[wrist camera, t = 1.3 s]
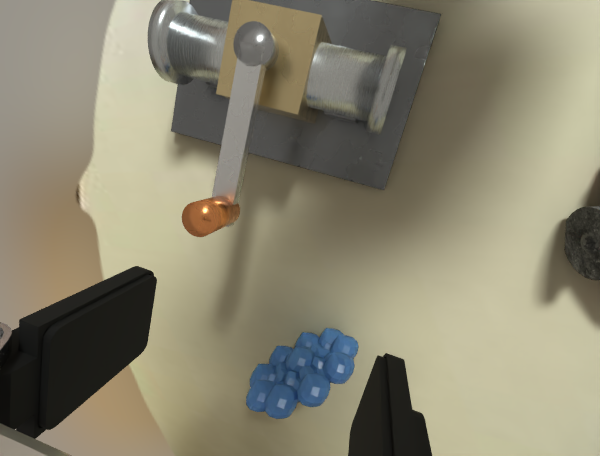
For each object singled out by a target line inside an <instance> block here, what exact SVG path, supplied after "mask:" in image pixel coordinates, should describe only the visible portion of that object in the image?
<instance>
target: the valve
mask: <svg viewBox="0 0 600 456" xmlns="http://www.w3.org/2000/svg"><path fill="white" fill-rule="evenodd" d="M565 253H566V255H567V257H568V260H569V262H570V263H571V264H572V266H573V267H574V268H575V269H576V271H577V272H578V273H580V274H581V275H583V276H584V277H586V278H589V279H591V280H600V207H599V206H594V207H583V208H580V209H577V210H576V211H574V212H573V213H572V214H571V215H570V216H569V218H568V219H567V221H566V233H565Z"/></svg>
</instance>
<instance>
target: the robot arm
mask: <svg viewBox="0 0 600 456" xmlns="http://www.w3.org/2000/svg"><path fill="white" fill-rule="evenodd" d="M156 283H157V279H156V277H154V274H153V272H152V271H150V270H147V269H144V268H141V267H138V266H135V267H132V268H130V269H128V270H126V271H124V272H121V273H119V274H117V275H115V276H113V277H111V278H108V279H106V280H104V281H102V282H100V283H98V284H95V285H94V286H91V287H89V288H87V289H85V290H82V291H81V292H78V293H76V294H74V295H72V296H70V297H67V298H65V299H63V300H61V301H59V302H56V303H54V304H52V305H50V306H48V307H46V308H44V309H41V310H39V311H37V312H35V313H33V314H31V315H28V316H26V317H24V318H22V319H20V320H19V328H17V329H14V330H12V331H11V328H10V327H9V326H8V325H7V324H4V323H1V322H0V456H71V455H69V454H66V453H65V452H62V451H60V450H58V449H56V448H53V447H51V446H49V445H47V444H44V443H42V442H40V441H38V440H36V439H35V438H37V437H38V436H39V435H40V434H41V433H43V432H44V431H45V430H46V429H47V430H50V429H52V428H54V427H56V426H57V425H58V424H59V423H60V422H62V421H63V420H64V419H65V418H66V417H67V416H69V415H70V414H71V413H72V412H73V411H74V410H76V409H77V408H78V407H79V406H80V405H81V404H83V403H84V402H85V401H86V400H87V399H88V398H90V397H91V396H92V395H93V394H94V393H96V392H97V391H98V390H99V389H100V388H101V387H103V386H104V385H105V384H106V383H107V382H108V381H109V380H111V379H112V378H113V377H114V376H115V375H117V374H118V373H119V372H120V371H121V370H122V369H124V368H125V367H126V366H127V365H128V364H130V363H131V362H132V361H133V360H134V359H135V358H137V357H138V356H139V355H140V354H141V353H142V352H143V351H144V349H145V348H146V346H147V342H148V336H149V329H150V323H151V316H152V309H153V303H154V296H155V289H156ZM15 429H16V430H15ZM348 456H432V453H431V448H430V443H429V438H428V433H427V428H426V423H425V419H424V416H423V414H422V413H420V412H417V411H414V410H412V405H411V399H410V393H409V387H408V381H407V374H406V368H405V362H404V360H403V359H401V358H398V357H395V356H393V355H390V354H387V353H386V354H385V355H384V356H383V357H381V356H377V358H376V360H375V363H374V366H373V369H372V371H371V374H370V377H369V379H368V382H367V385H366V388H365V390H364V393H363V396H362V398H361V401H360V404H359V407H358V409H357V412H356V415H355V417H354V420H353V423H352V427H351V431H350V440H349V453H348Z"/></svg>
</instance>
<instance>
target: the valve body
mask: <svg viewBox="0 0 600 456" xmlns="http://www.w3.org/2000/svg"><path fill="white" fill-rule="evenodd" d="M440 16H441V14H438V13H433V12H428V11H423V10H418V9H413V8H407V7H402V6H397V5H392V4H387V3H381V2H376V1H371V0H190V2H189V3H188V2H186V1H182V0H161V1H160V2H159V3H158V4H157V5H156V7H155V8H154V10H153V12H152V15H151V18H150V22H149V27H148V48H149V54H150V58H151V61H152V64H153V66H154V68H155V70H156V72H157V73H158V74H159V76H160V77H161V78H163V79H164V80H166V81H168V82H172V83H176V84H178V87H177V94H176V101H175V108H174V115H173V122H172V129H171V131H172V132H176V133H180V134H183V135H187V136H190V137H194V138H198V139H201V140H205V141H208V142H212V143H216V144H219V145H222V139H223V134H224V128H225V123H226V117H227V112H228V107H229V101H230V96H231V90H232V85H233V79H234V74H235V68H236V63H237V57H236V55H235V52H234V47H233V42H234V37H235V34H236V32H237V30H238V29H239V28H240V27H241V26H242V25H243V24H245V23H247V22H250V21H257V22H260V23H262V24H264V25H265V26H266V27H267V28H268V29H269V31H270V32H271V33H272V34H273V36H274V37H275V38H276V40H277V42H278V46H279V55H278V59H277V61H276V63H275V64H274V66H273V67H272V68H270V69H269V70H267V71H265V75H264V80H263V85H262V90H261V95H260V100H259V104H258V109H257V114H256V119H255V124H254V129H253V133H252V138H251V143H250V148H249V153H252V154H255V155H259V156H262V157H266V158H270V159H273V160H277V161H280V162H284V163H288V164H291V165H295V166H298V167H302V168H306V169H309V170H313V171H316V172H320V173H324V174H327V175H331V176H334V177H338V178H342V179H345V180H349V181H352V182H356V183H360V184H363V185H367V186H370V187H374V188H378V189H381V190H384V189H385V186H386V183H387V179H388V176H389V173H390V170H391V167H392V164H393V161H394V158H395V155H396V152H397V149H398V146H399V142H400V139H401V136H402V133H403V130H404V127H405V124H406V121H407V118H408V115H409V112H410V109H411V106H412V102H413V99H414V96H415V93H416V90H417V87H418V84H419V81H420V78H421V75H422V72H423V69H424V66H425V62H426V59H427V56H428V53H429V50H430V47H431V44H432V41H433V38H434V35H435V32H436V29H437V26H438V22H439V19H440Z"/></svg>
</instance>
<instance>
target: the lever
mask: <svg viewBox="0 0 600 456" xmlns="http://www.w3.org/2000/svg"><path fill="white" fill-rule="evenodd" d="M233 47H234V52H235V55H236V57H237V63H236V68H235V74H234V79H233V85H232V90H231V96H230V101H229V107H228V112H227V117H226V123H225V128H224V134H223V139H222V145H221V150H220V156H219V161H218V166H217V172H216V177H215V183H214V188H213V194H212V198H208V199H204V200H200V201H196V202H193V203H190V204H188V205H187V206H186V207H185V208H184V210H183V213H182V222H183V225H184V227H185V229H186V230H187V231H188V232H189V233H190V234H192V235H193V236H196V237H204V236H206V235H208V234H210V233H213V232H215V231H217V230H219V229H221V228H223V227H225V226H227V227H229V226H231V225H233V224H234V222H235V221H236V220H237V219H238V217H239V214H240V207H239V204H238V201H239V196H240V192H241V187H242V182H243V177H244V172H245V167H246V163H247V158H248V153H249V148H250V143H251V138H252V133H253V129H254V124H255V119H256V114H257V109H258V104H259V100H260V95H261V90H262V85H263V80H264V75H265V71H267V70H269V69H270V68H272V67H273V66H274V64H275V63H276V61H277V59H278V55H279V46H278V42H277V40H276V38H275V37H274V36H273V34H272V33H271V32H270V31H269V29H268V28H267V27H266V26H265V25H264V24H262V23H260V22H257V21H250V22H247V23H245V24H243V25H242V26H241V27H240V28H239V29H238V30H237V32H236V34H235V37H234V42H233Z"/></svg>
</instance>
